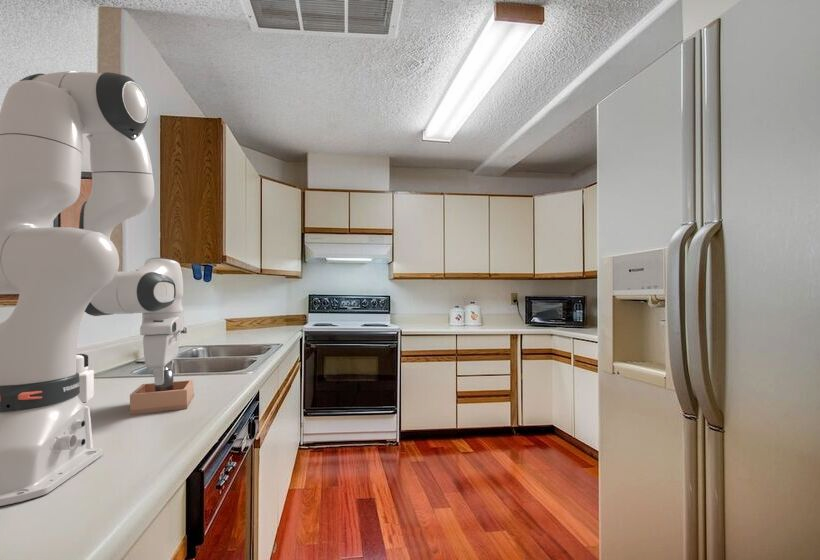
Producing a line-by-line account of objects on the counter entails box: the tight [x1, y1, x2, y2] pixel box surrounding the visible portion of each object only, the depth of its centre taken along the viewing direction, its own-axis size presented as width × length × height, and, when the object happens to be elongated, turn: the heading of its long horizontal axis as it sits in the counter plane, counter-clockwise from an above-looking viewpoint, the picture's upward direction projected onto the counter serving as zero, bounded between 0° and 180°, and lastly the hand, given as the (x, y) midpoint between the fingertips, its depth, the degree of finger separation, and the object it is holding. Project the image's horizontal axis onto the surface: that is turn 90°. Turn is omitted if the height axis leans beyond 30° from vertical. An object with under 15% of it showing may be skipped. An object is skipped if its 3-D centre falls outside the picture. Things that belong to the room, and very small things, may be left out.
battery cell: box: [155, 368, 174, 392], centre depth 103 cm, size 4×4×8 cm
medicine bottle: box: [76, 353, 95, 404], centre depth 108 cm, size 7×7×12 cm
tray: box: [129, 379, 195, 415], centre depth 103 cm, size 12×12×4 cm
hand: (163, 380), depth 103 cm, fingers open, 8 cm apart
